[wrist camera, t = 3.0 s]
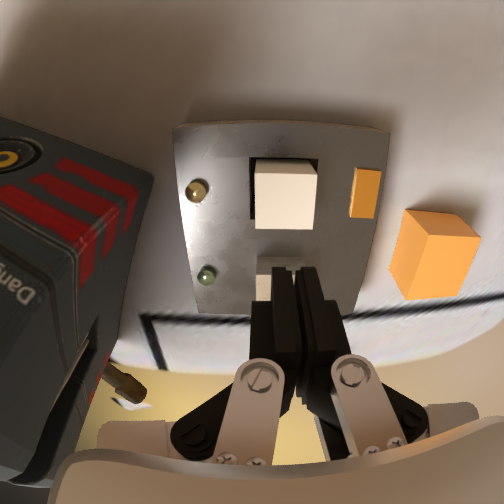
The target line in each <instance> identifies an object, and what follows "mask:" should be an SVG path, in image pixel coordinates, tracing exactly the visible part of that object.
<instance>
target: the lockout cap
mask: <svg viewBox="0 0 504 504" xmlns="http://www.w3.org/2000/svg"><path fill="white" fill-rule="evenodd" d="M480 240H481V237H480V236H479V235H478V234H477V233H476V232H475V231H474V230H473V229H472V228H471V227H469V226H468V225H467V224H466V223H465V222H464V221H463V220H462V219H461V218H459V217H458V216H457V215H456V214H448V213H438V212H428V211H417V210H405V211H404V216H403V220H402V224H401V228H400V232H399V236H398V240H397V243H396V247H395V251H394V254H393V257H392V261H391V264H390V267H389V271H390V273H391V274H392V276H393V278H394V280H395V282H396V283H397V285H398V287H399V289H400V291H401V293H402V295H403V297H404V298H405V300H415V299H427V298H439V297H449V296H457V294H458V292H459V290H460V288H461V286H462V284H463V281H464V279H465V277H466V275H467V273H468V270H469V268H470V266H471V263H472V261H473V258H474V256H475V253H476V251H477V248H478V246H479V243H480Z"/></svg>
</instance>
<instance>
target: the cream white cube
mask: <svg viewBox="0 0 504 504" xmlns="http://www.w3.org/2000/svg"><path fill="white" fill-rule="evenodd" d="M316 186H317V173H316V172H315V170H314V169H313V167H312V166H311V164H310V162H309V161H308V160H289V159H256V167H255V229H310V230H313V220H314V210H315V198H316Z"/></svg>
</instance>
